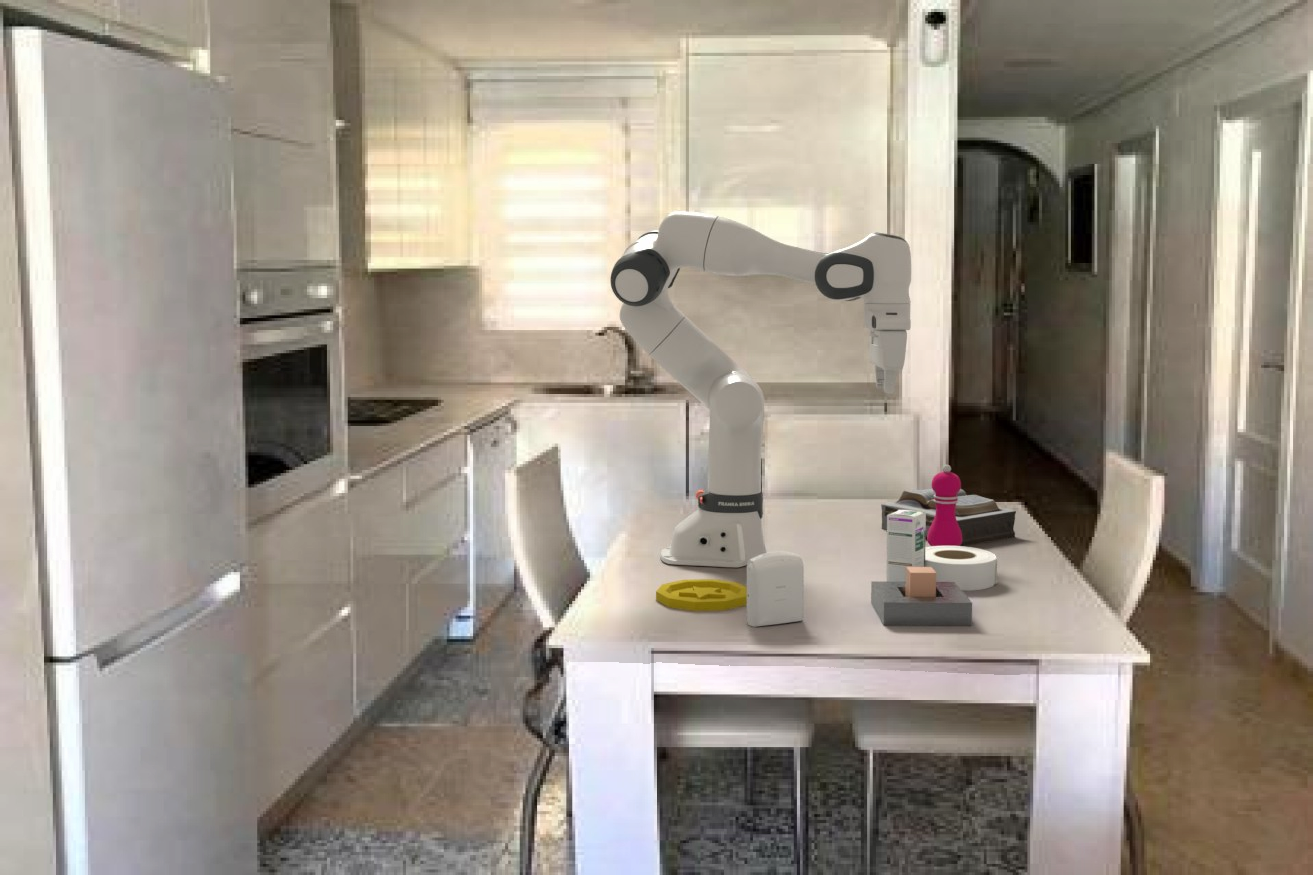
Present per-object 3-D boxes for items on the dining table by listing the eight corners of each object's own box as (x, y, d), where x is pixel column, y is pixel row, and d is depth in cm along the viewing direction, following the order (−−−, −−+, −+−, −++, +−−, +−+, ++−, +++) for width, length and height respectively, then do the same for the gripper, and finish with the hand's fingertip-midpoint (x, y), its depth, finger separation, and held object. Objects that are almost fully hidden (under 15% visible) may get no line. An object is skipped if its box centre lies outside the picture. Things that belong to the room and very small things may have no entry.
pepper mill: (962, 563, 273) (965, 467, 271) (926, 562, 275) (929, 466, 272) (961, 556, 280) (964, 462, 278) (926, 554, 282) (929, 461, 279)
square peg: (909, 617, 232) (910, 572, 231) (904, 610, 236) (906, 566, 235) (935, 617, 232) (936, 572, 231) (930, 610, 236) (931, 566, 235)
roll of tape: (998, 593, 250) (999, 564, 249) (913, 589, 253) (913, 560, 252) (994, 574, 265) (995, 547, 264) (913, 570, 268) (914, 543, 267)
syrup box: (914, 591, 250) (916, 516, 248) (884, 587, 253) (886, 513, 251) (925, 585, 255) (927, 511, 253) (896, 581, 258) (898, 508, 256)
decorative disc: (683, 585, 256) (683, 575, 256) (766, 596, 247) (766, 586, 247) (639, 604, 242) (639, 593, 242) (724, 617, 233) (724, 606, 233)
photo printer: (753, 628, 225) (754, 557, 223) (742, 622, 229) (743, 552, 227) (807, 622, 229) (808, 552, 227) (795, 616, 232) (796, 547, 231)
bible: (954, 520, 321) (956, 480, 320) (1026, 541, 297) (1027, 498, 295) (872, 527, 313) (873, 486, 311) (938, 550, 288) (940, 505, 287)
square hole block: (883, 625, 227) (884, 602, 226) (870, 602, 242) (871, 581, 241) (971, 625, 226) (972, 602, 226) (953, 603, 241) (954, 581, 241)
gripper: (862, 316, 264) (861, 385, 265) (878, 320, 243) (876, 395, 245) (894, 316, 263) (892, 385, 265) (912, 321, 243) (910, 396, 245)
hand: (885, 390), depth 255 cm, fingers open, 8 cm apart
